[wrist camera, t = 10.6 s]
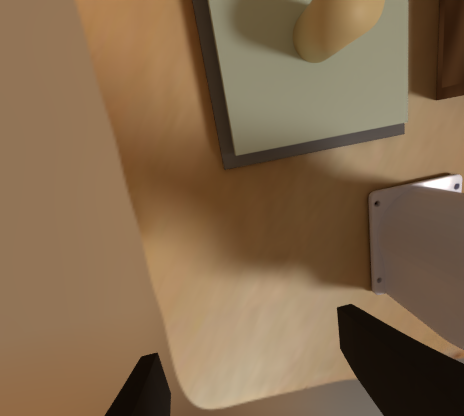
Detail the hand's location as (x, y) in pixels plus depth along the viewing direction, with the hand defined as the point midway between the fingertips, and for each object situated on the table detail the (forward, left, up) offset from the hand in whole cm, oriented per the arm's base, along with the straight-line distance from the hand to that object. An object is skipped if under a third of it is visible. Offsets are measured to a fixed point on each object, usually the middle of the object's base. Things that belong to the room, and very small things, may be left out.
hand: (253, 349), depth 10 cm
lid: (+13, -8, -10) cm, 18 cm away
